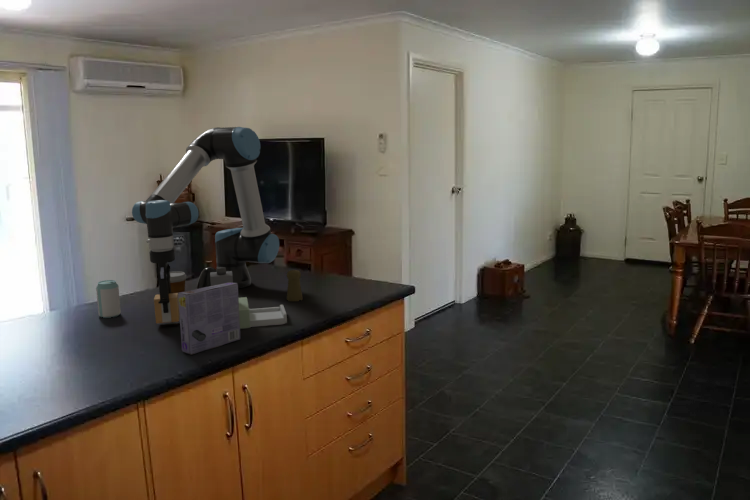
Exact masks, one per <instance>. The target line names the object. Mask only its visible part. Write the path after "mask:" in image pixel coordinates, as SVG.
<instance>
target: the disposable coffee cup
mask: <svg viewBox="0 0 750 500" xmlns="http://www.w3.org/2000/svg"><path fill="white" fill-rule="evenodd" d="M186 279H187V275H186V273H185V272H184V271H170V285H171V293H180V292H185V291H186V289H185V288H186ZM178 300H179V299H178Z"/></svg>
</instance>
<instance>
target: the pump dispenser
mask: <svg viewBox="0 0 750 500" xmlns="http://www.w3.org/2000/svg"><path fill="white" fill-rule="evenodd" d="M210 272H216V268H214V267H212V266H207V267H205V268H203V270H202V271H201V272H200V275H199V278H198V281H197V283H196V289H199V288H204V287H209V286H211V282H210Z"/></svg>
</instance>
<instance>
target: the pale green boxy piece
mask: <svg viewBox="0 0 750 500" xmlns="http://www.w3.org/2000/svg"><path fill="white" fill-rule="evenodd" d="M215 269H216V272H210V282H211V286H214V285H219V284H224V283H228V282H230V283H233V276H232V271H226V268H225V267H218V268H217V267H216V268H215ZM238 299H239V300H238V301H239V319H240V330H242V329H250V328H251V327H252V328H254V327H266V326H267V327H268V326H279V325H285V324H288V318H287V317H288V316H287V312H286V309H285V307H284V304H279V306H273V307H262V308H259V307H258V308H250V307H249V302H248V301H249V300H248V298H247V296H245V297H238Z"/></svg>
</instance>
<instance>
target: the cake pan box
mask: <svg viewBox="0 0 750 500" xmlns="http://www.w3.org/2000/svg"><path fill="white" fill-rule="evenodd" d="M238 298H239V289H238V284H237V283H230V282H228V283H224V284H219V285H214V286H209V287H204V288H199V289H197V288H195V289H191V290H185V292H180V293H178V299H179V314H180V318H179V324H180V325H179V327H180V340H181V342H180V343H181V351H182V352H183V353H186V354H187V355H190V356H192V355H195V354H197V353H200V352H201V353H202V352H204V351H208V350H211V349H215V348H219V347H221V346H223V345H226V344H229V343H233V342H236V341H239V340H240V341H241V329H240V319H239V301H238V300H239V299H238Z"/></svg>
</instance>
